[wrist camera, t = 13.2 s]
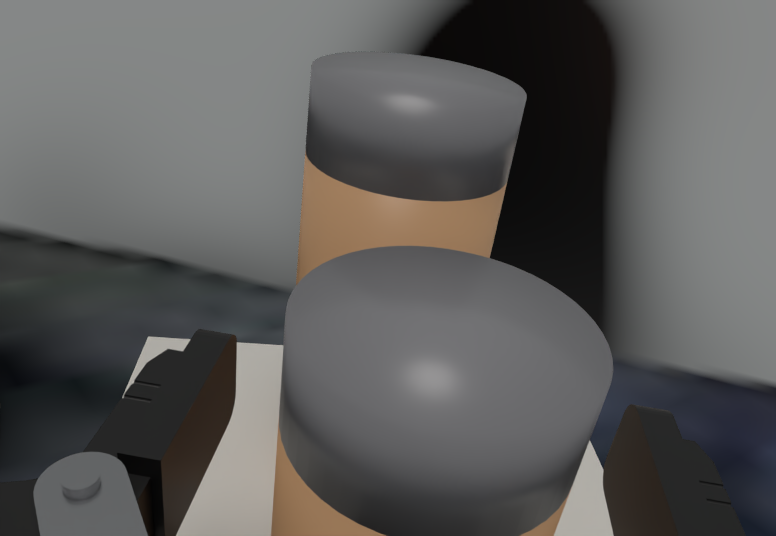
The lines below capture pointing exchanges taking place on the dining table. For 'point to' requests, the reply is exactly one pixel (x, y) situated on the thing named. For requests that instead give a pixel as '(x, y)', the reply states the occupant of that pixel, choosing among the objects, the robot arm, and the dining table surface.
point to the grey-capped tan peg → (432, 397)
